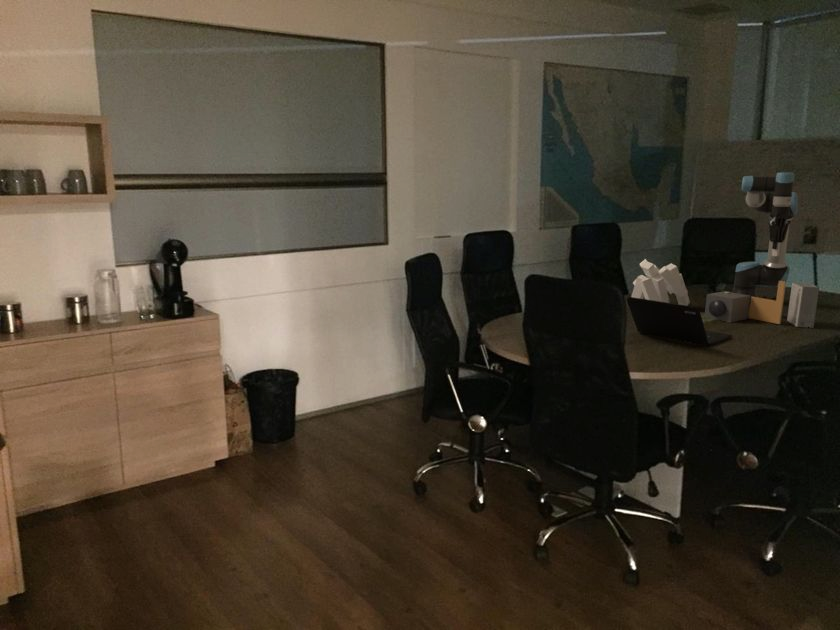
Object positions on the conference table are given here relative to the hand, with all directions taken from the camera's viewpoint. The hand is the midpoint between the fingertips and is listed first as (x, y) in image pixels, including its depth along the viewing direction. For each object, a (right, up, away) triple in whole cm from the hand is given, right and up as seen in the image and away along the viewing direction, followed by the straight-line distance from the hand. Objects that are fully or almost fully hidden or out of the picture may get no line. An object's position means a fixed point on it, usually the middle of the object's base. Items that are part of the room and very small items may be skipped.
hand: (775, 255), depth 318 cm
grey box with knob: (-13, -30, +23) cm, 40 cm away
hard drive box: (+18, -33, +11) cm, 39 cm away
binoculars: (+11, -29, +27) cm, 42 cm away
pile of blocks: (-40, -25, +44) cm, 64 cm away
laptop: (-54, -39, -19) cm, 69 cm away
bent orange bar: (+3, -31, +15) cm, 35 cm away
